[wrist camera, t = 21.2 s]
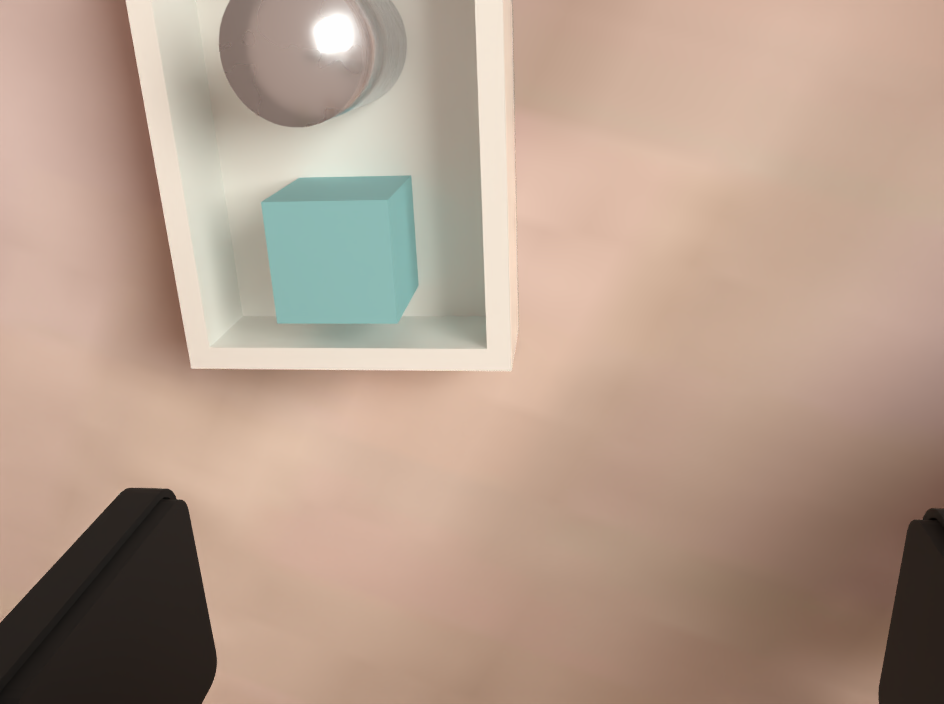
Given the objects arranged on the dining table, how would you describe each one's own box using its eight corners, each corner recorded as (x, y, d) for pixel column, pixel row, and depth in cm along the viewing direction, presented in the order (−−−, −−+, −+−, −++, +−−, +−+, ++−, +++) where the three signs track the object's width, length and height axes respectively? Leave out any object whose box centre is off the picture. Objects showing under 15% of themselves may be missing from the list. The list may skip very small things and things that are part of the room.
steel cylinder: (399, -30, 34) (351, -39, 27) (413, 101, 35) (371, 121, 29) (279, -17, 34) (205, -23, 28) (299, 110, 36) (234, 132, 30)
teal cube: (411, 175, 37) (387, 200, 32) (418, 285, 39) (397, 323, 34) (299, 177, 37) (260, 202, 33) (311, 286, 39) (277, 323, 35)
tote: (510, -102, 33) (499, -119, 29) (518, 328, 40) (511, 371, 35) (170, -83, 35) (108, -96, 30) (233, 328, 42) (191, 368, 37)
